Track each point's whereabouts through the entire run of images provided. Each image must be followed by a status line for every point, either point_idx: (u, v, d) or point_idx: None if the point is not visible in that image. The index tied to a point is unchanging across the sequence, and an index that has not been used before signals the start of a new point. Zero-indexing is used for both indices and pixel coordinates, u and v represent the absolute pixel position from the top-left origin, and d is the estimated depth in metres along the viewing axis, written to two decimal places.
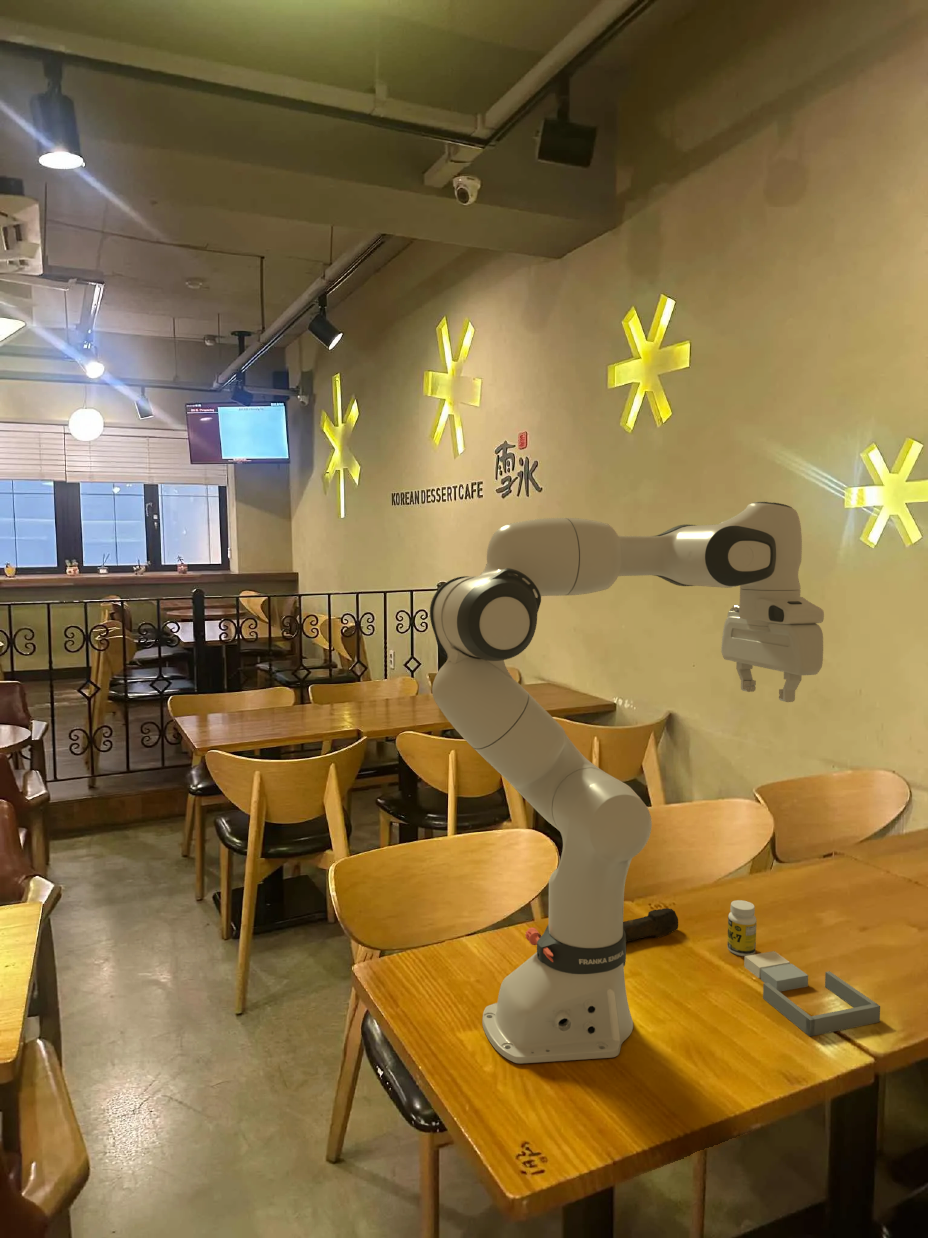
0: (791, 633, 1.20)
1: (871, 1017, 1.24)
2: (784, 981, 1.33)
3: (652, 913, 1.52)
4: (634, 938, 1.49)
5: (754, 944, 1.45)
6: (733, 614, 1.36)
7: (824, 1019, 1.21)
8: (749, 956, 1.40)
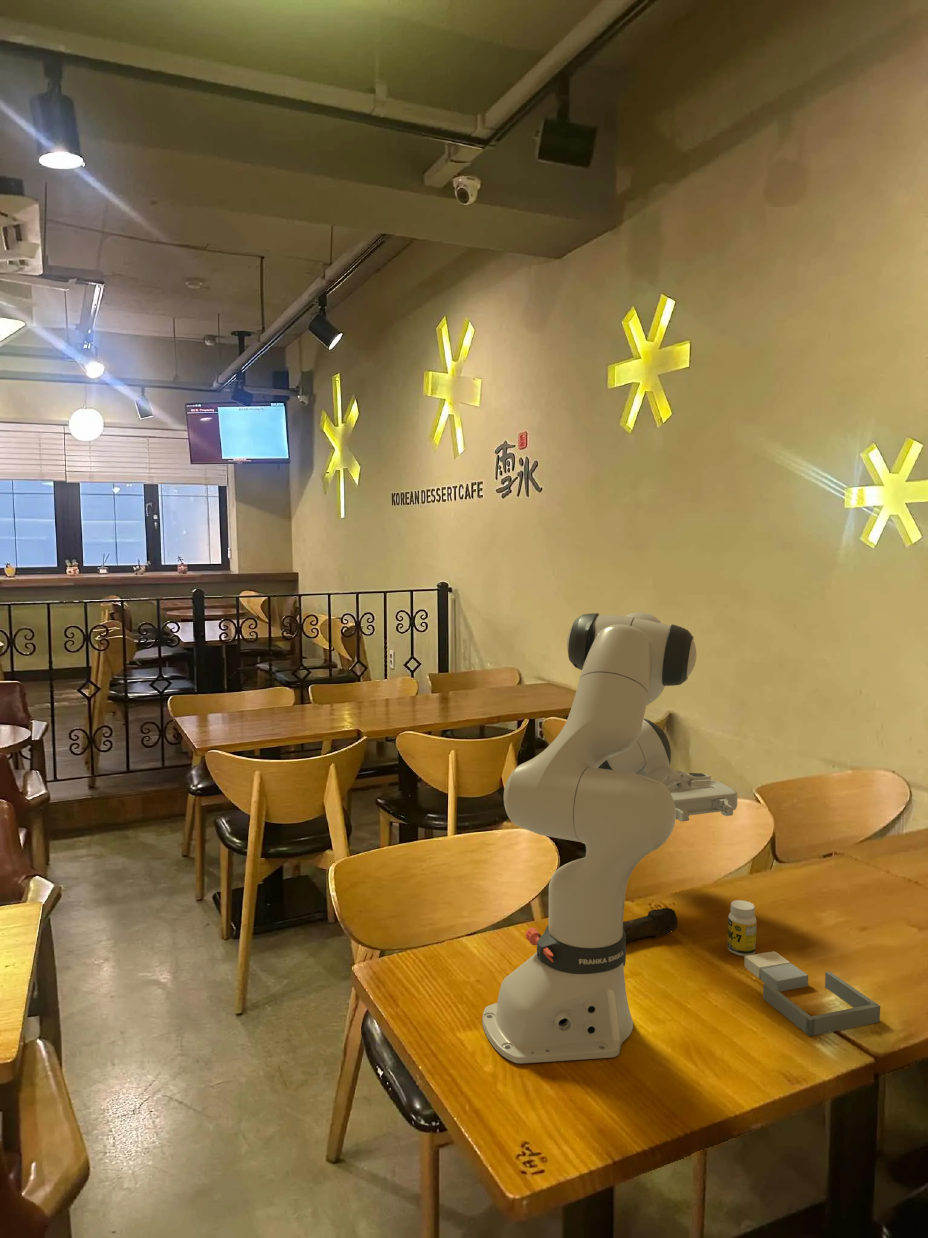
0: (715, 781, 1.68)
1: (871, 1017, 1.24)
2: (784, 981, 1.33)
3: (652, 913, 1.52)
4: (634, 938, 1.49)
5: (754, 944, 1.45)
6: None
7: (824, 1019, 1.21)
8: (749, 956, 1.41)
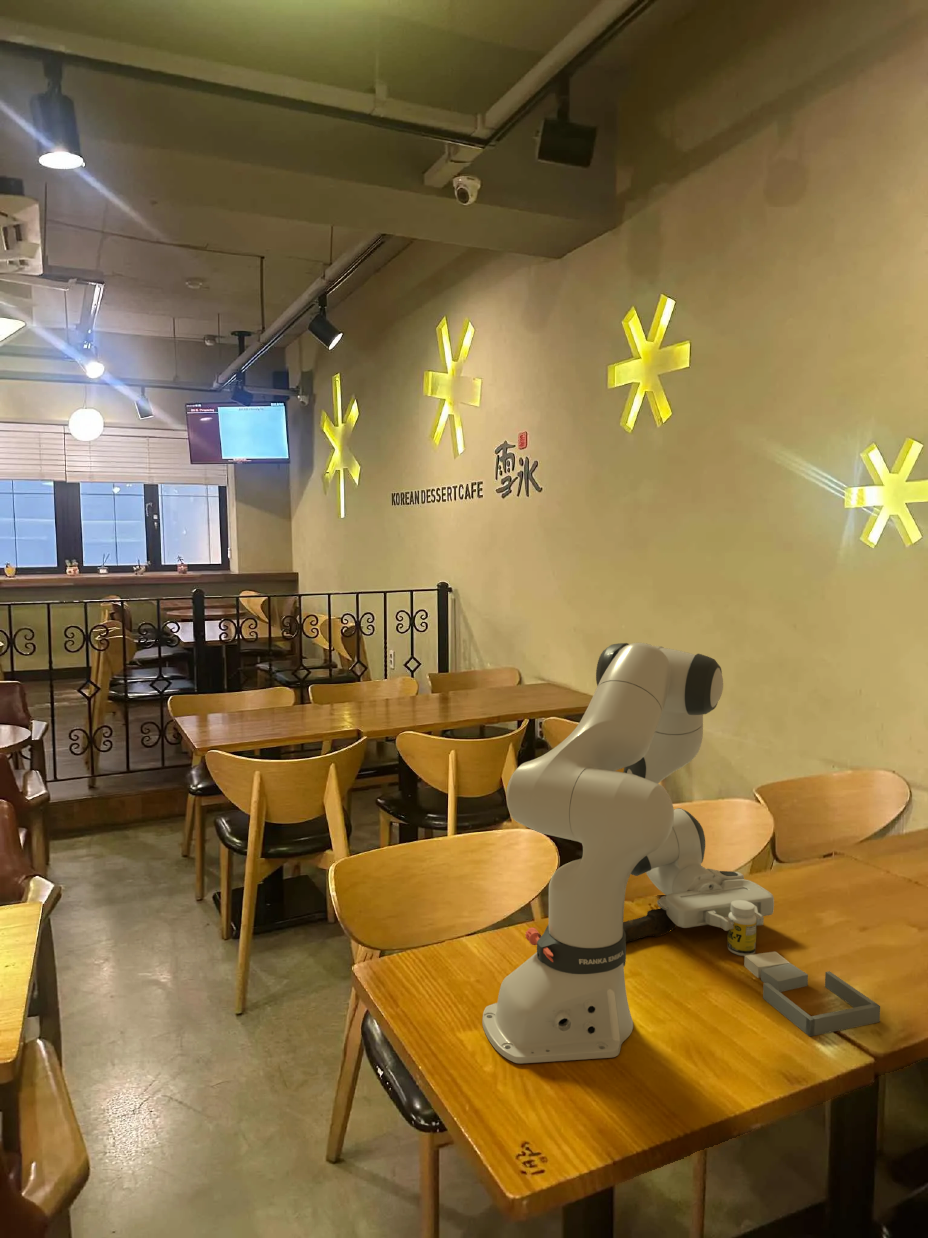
0: (749, 881, 1.58)
1: (871, 1017, 1.24)
2: (785, 981, 1.33)
3: (651, 913, 1.52)
4: (634, 938, 1.49)
5: (754, 944, 1.45)
6: (665, 900, 1.54)
7: (824, 1019, 1.21)
8: (749, 956, 1.41)
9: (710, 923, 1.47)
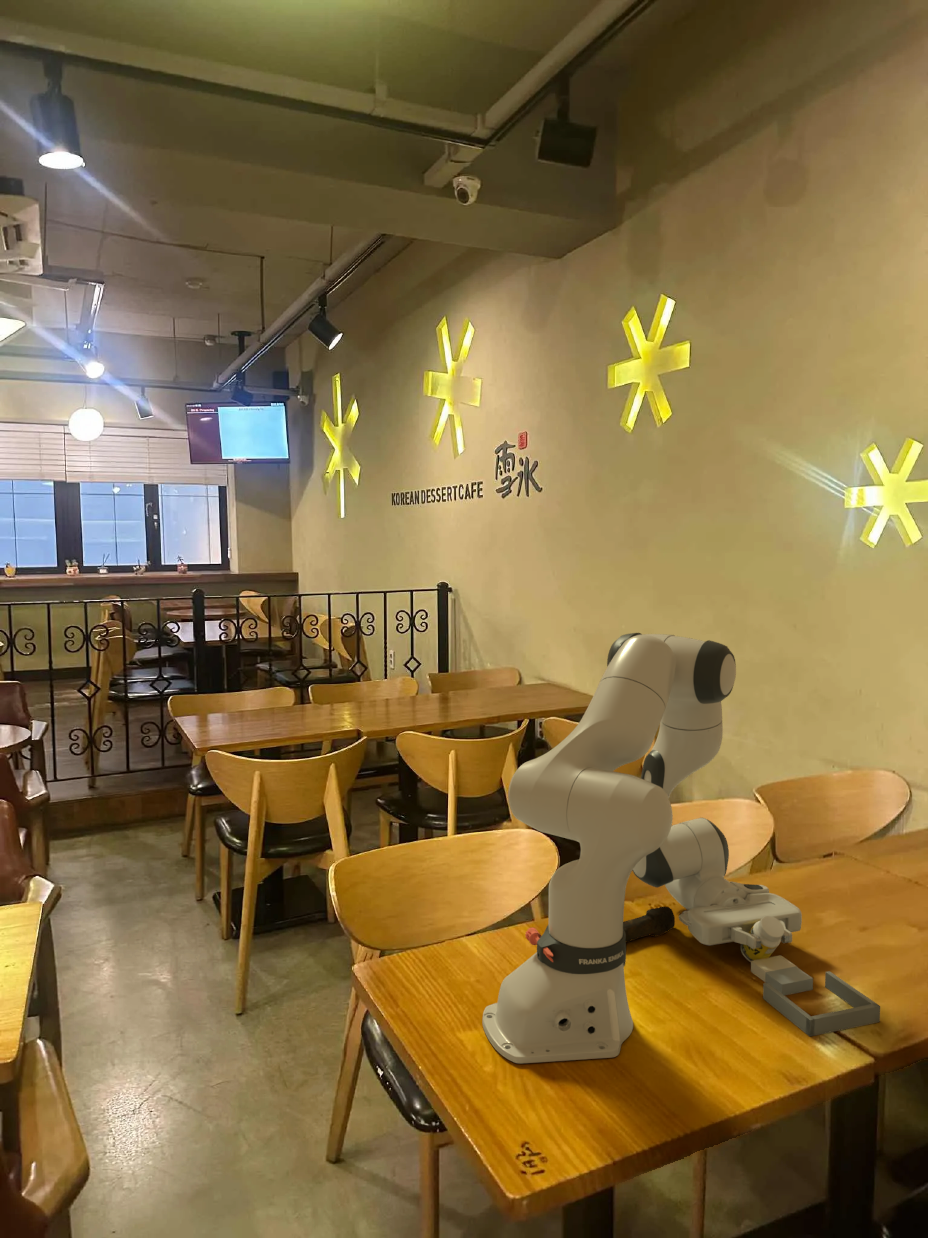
0: (774, 895, 1.50)
1: (871, 1017, 1.24)
2: (789, 984, 1.32)
3: (650, 912, 1.52)
4: (634, 937, 1.49)
5: (769, 956, 1.41)
6: (687, 915, 1.47)
7: (824, 1019, 1.21)
8: (756, 961, 1.39)
9: (736, 940, 1.40)
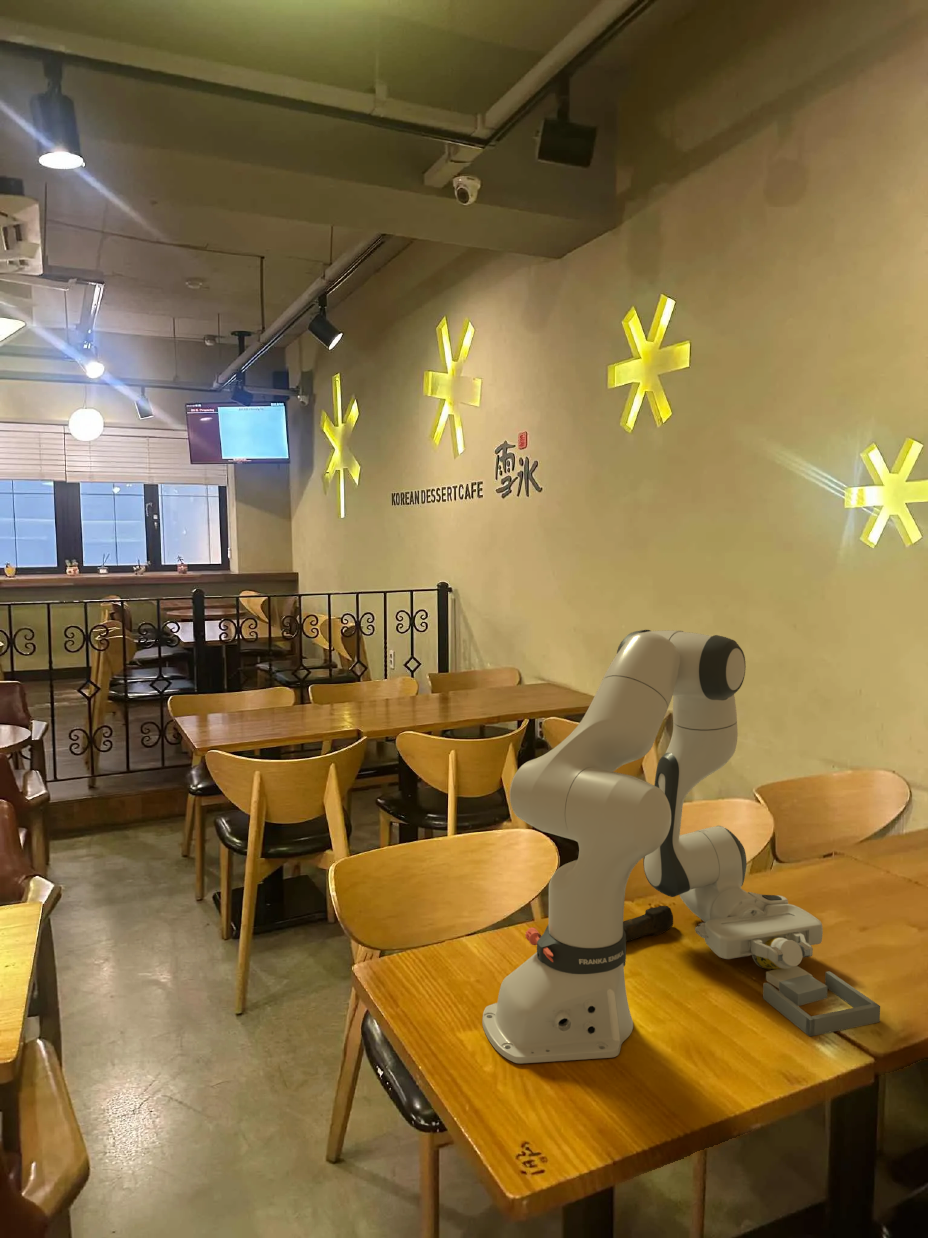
0: (794, 906, 1.45)
1: (871, 1017, 1.24)
2: (804, 993, 1.29)
3: (649, 911, 1.53)
4: (634, 937, 1.49)
5: None
6: (704, 927, 1.42)
7: (824, 1019, 1.21)
8: (771, 972, 1.36)
9: (756, 954, 1.35)
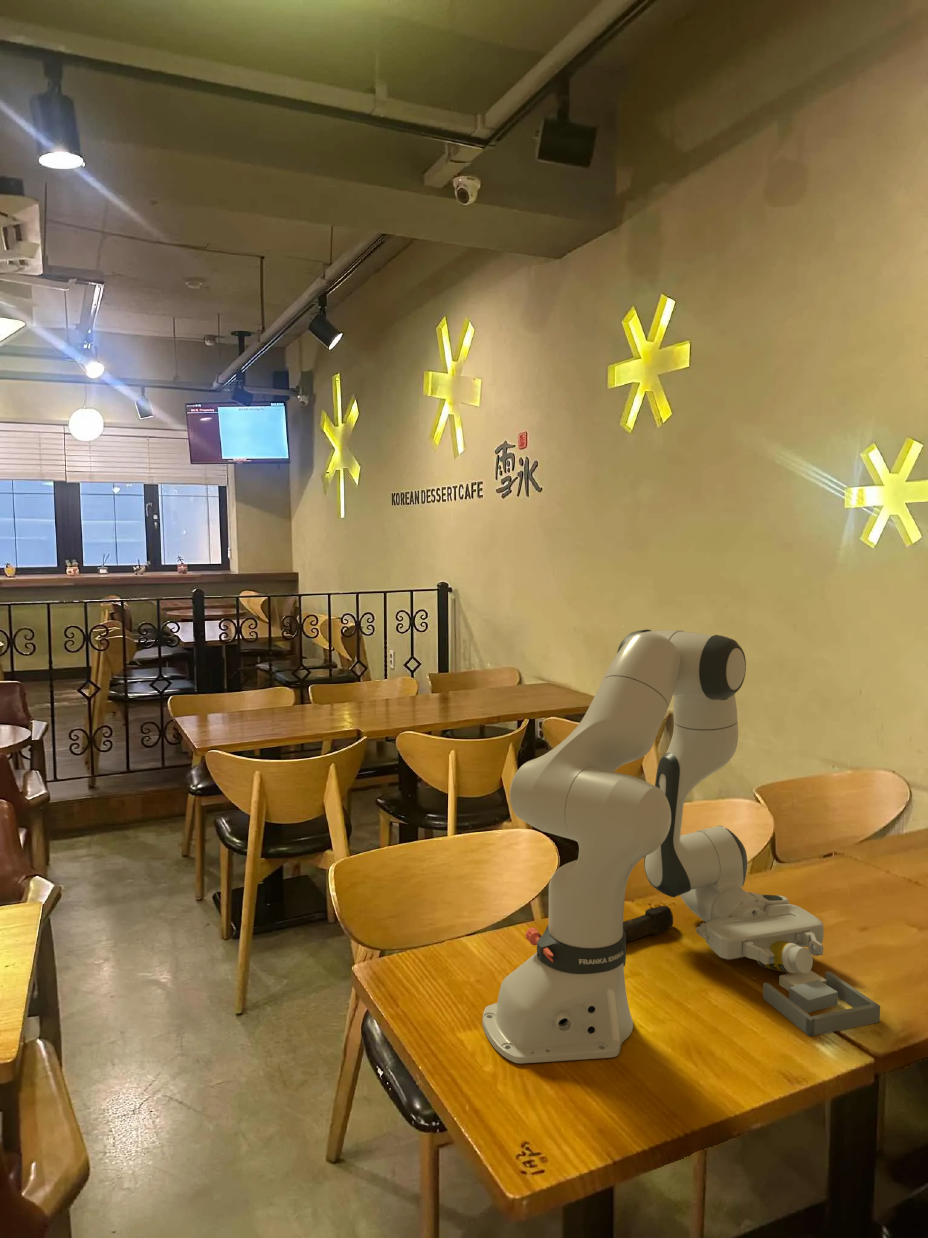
0: (795, 906, 1.45)
1: (871, 1017, 1.24)
2: (815, 999, 1.27)
3: (649, 911, 1.53)
4: (634, 937, 1.49)
5: None
6: (705, 927, 1.42)
7: (824, 1019, 1.21)
8: (784, 976, 1.35)
9: (747, 956, 1.34)
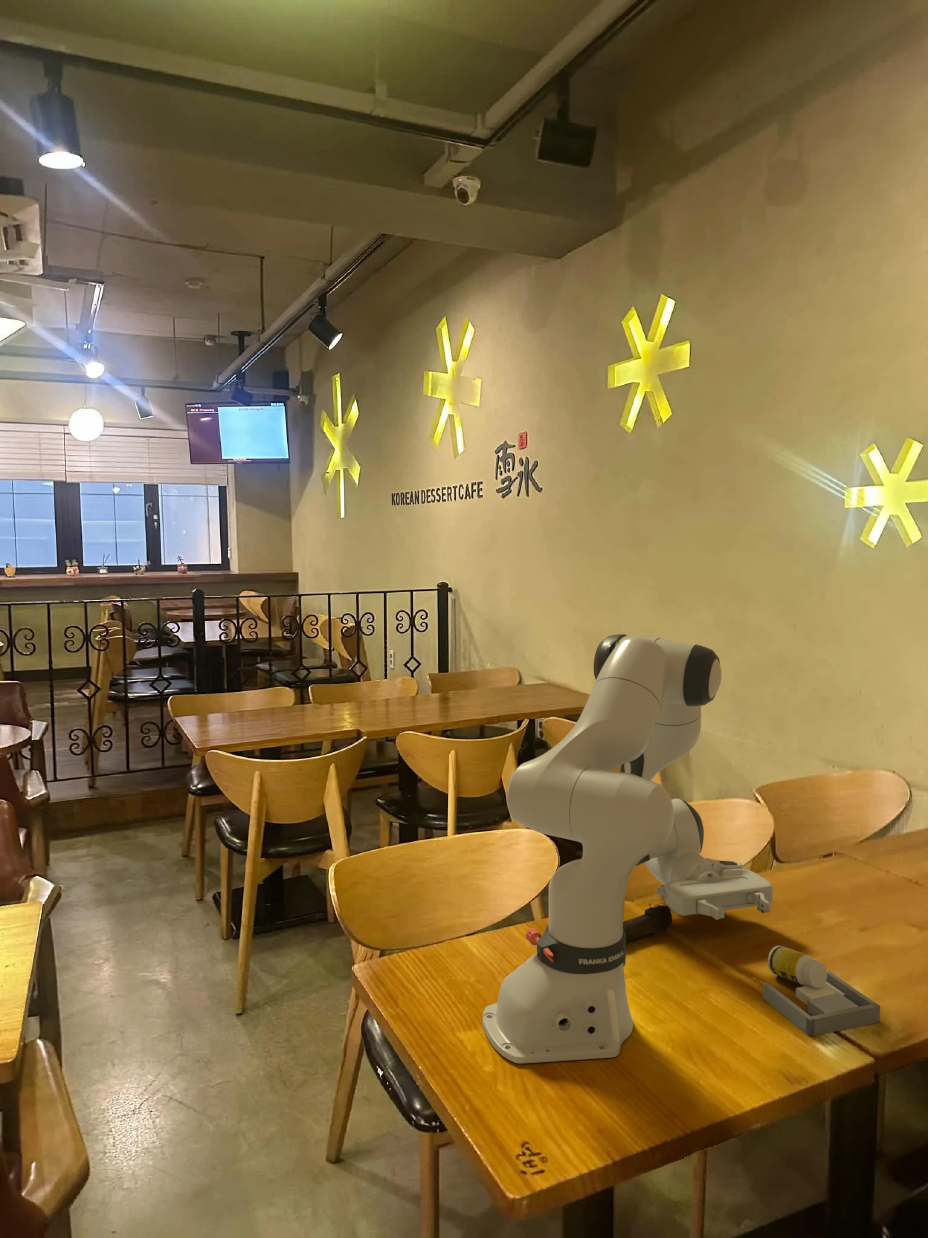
0: (748, 870, 1.57)
1: (871, 1017, 1.24)
2: None
3: (649, 911, 1.53)
4: (634, 937, 1.49)
5: None
6: (664, 888, 1.54)
7: (824, 1019, 1.21)
8: (801, 988, 1.31)
9: (701, 912, 1.46)
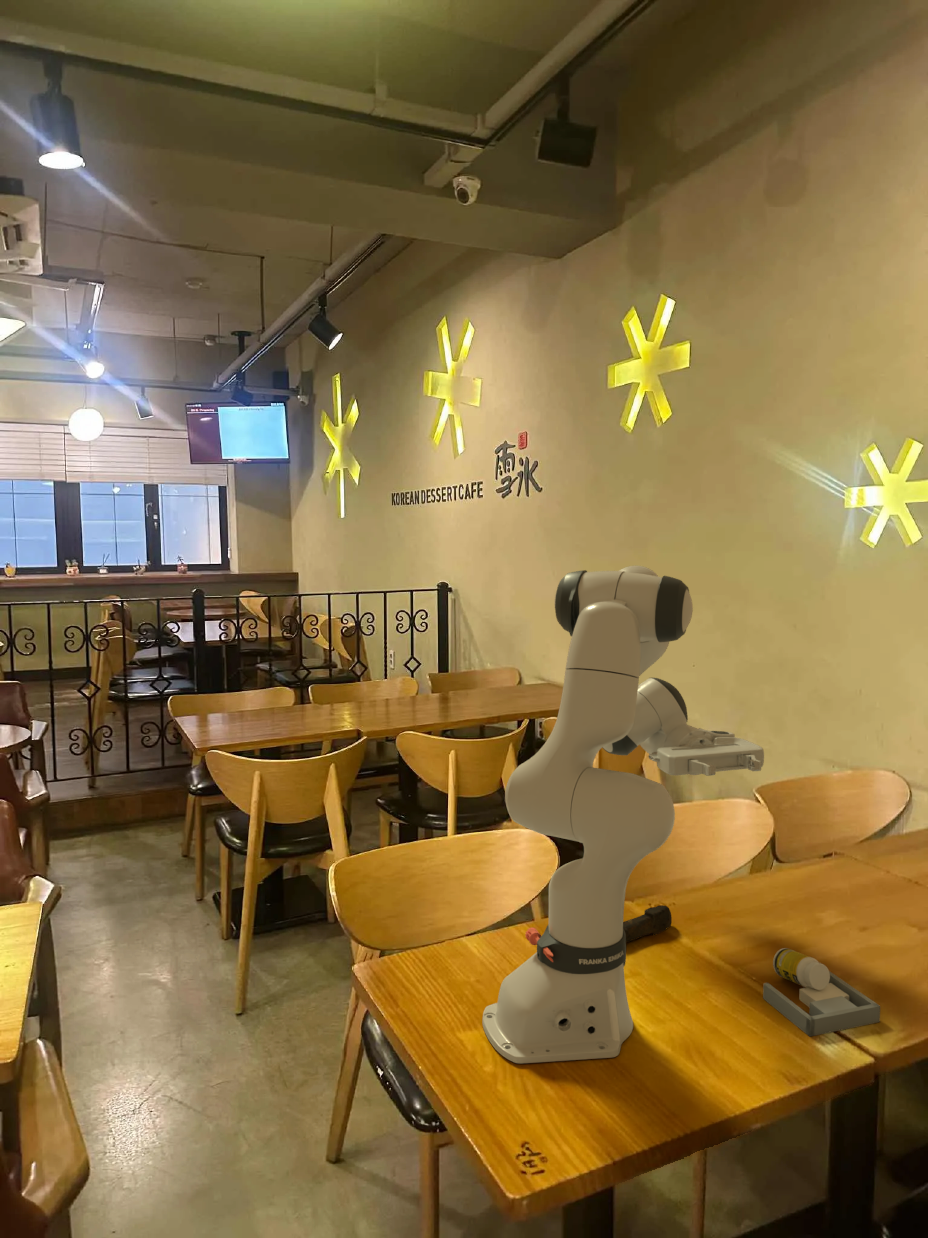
0: (739, 738, 1.59)
1: (871, 1017, 1.24)
2: None
3: (649, 911, 1.53)
4: (634, 937, 1.49)
5: None
6: (657, 754, 1.56)
7: (824, 1019, 1.21)
8: (804, 989, 1.30)
9: (692, 771, 1.48)
